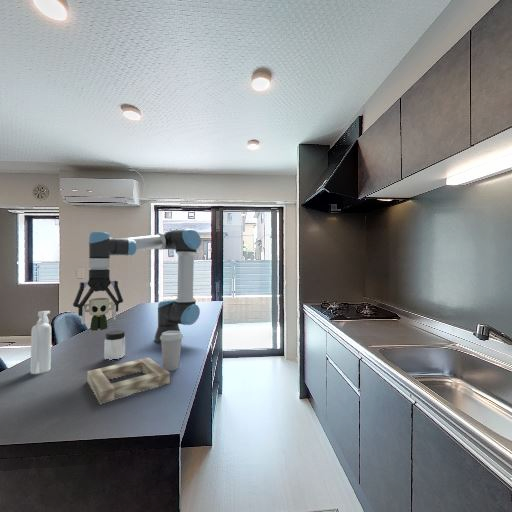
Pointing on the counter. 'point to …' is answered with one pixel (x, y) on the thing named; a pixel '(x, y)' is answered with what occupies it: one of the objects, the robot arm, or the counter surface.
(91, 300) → the character mug
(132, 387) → the well block
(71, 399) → the counter surface
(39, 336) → the white pump bottle
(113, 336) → the jar
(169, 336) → the coffee cup
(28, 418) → the counter surface
